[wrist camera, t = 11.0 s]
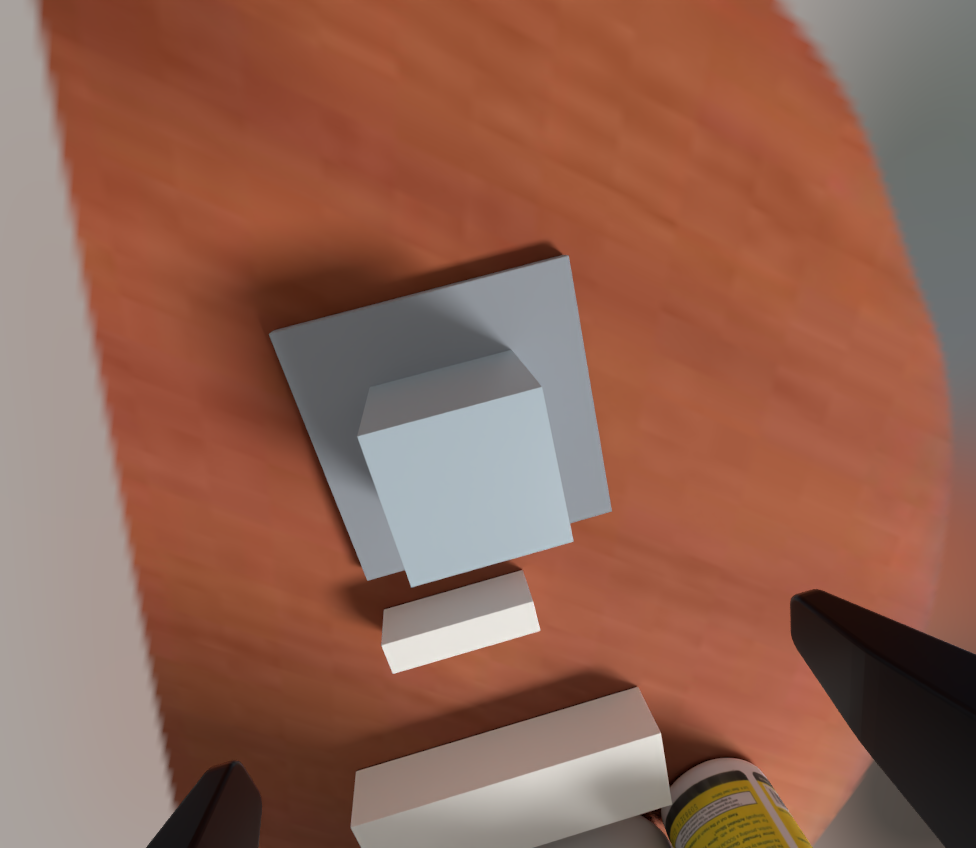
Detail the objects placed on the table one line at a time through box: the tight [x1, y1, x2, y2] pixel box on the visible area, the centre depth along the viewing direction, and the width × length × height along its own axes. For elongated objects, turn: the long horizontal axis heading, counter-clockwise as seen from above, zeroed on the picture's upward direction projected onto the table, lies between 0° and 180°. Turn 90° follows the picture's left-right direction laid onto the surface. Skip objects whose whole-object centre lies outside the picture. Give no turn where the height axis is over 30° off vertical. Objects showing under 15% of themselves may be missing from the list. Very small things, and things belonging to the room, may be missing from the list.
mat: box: [269, 255, 612, 581], centre depth 19 cm, size 10×10×1 cm
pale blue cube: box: [357, 350, 573, 587], centre depth 17 cm, size 5×5×4 cm
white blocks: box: [350, 570, 672, 848], centre depth 23 cm, size 14×14×2 cm
